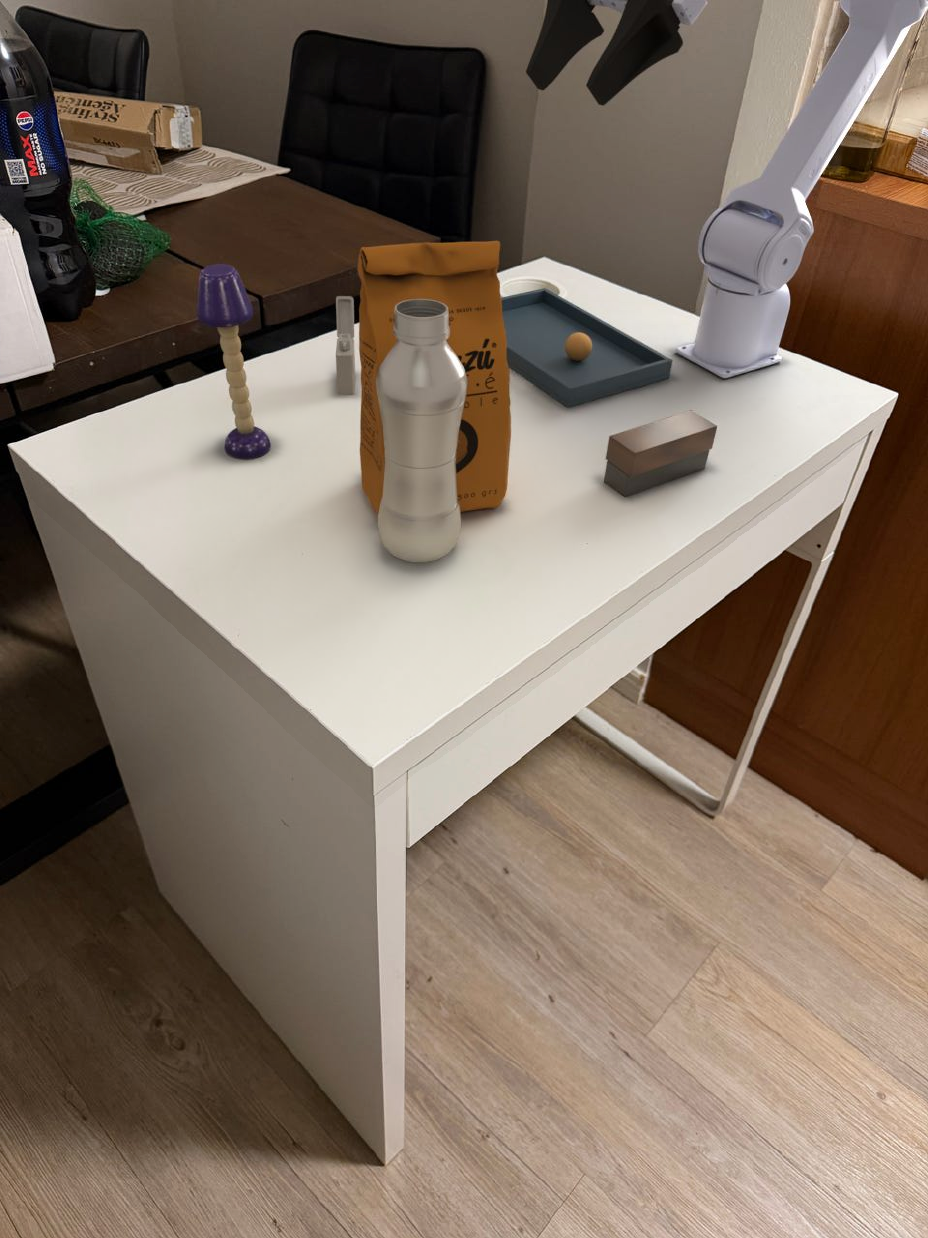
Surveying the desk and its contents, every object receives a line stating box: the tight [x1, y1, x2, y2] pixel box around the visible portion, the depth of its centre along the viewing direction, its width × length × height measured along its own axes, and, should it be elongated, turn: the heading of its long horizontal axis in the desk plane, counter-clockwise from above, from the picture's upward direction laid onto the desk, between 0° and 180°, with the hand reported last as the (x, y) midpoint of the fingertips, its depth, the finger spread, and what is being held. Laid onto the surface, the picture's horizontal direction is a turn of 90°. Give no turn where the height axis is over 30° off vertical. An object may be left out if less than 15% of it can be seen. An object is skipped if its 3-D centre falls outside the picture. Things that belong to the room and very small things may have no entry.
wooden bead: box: [565, 333, 592, 361], centre depth 101 cm, size 3×3×3 cm
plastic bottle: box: [376, 299, 468, 563], centre depth 69 cm, size 6×7×20 cm
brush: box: [603, 409, 718, 497], centre depth 84 cm, size 10×4×5 cm, turn 123°
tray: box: [501, 287, 674, 408], centre depth 105 cm, size 14×23×2 cm, turn 33°
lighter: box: [335, 295, 356, 395], centre depth 95 cm, size 7×2×8 cm, turn 4°
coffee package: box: [356, 240, 512, 516], centre depth 74 cm, size 10×12×22 cm
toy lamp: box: [196, 263, 272, 460], centre depth 81 cm, size 5×5×17 cm
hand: (563, 88), depth 72 cm, fingers open, 7 cm apart
